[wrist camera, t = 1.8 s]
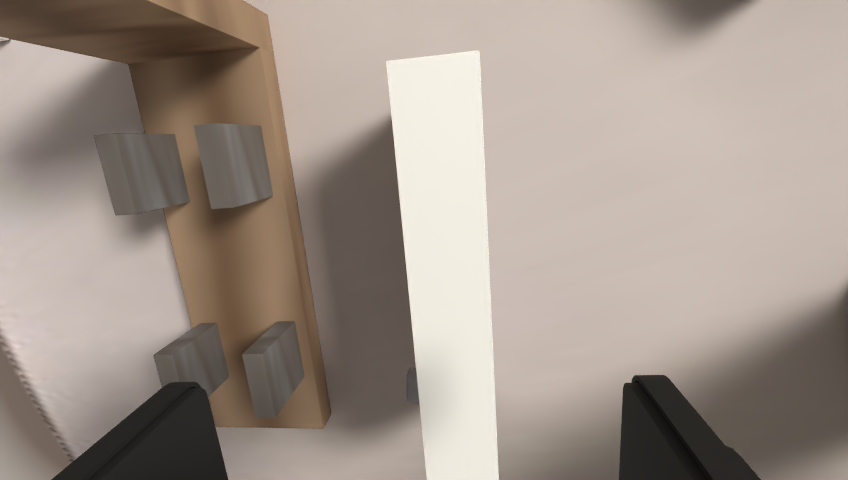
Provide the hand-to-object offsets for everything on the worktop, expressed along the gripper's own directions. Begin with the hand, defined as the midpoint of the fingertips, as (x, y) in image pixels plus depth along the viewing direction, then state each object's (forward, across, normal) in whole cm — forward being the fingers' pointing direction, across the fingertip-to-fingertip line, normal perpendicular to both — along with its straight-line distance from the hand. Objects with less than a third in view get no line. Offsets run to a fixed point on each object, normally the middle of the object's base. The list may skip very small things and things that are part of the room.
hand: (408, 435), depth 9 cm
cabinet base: (+17, +13, -1) cm, 21 cm away
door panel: (+16, -1, 0) cm, 16 cm away
